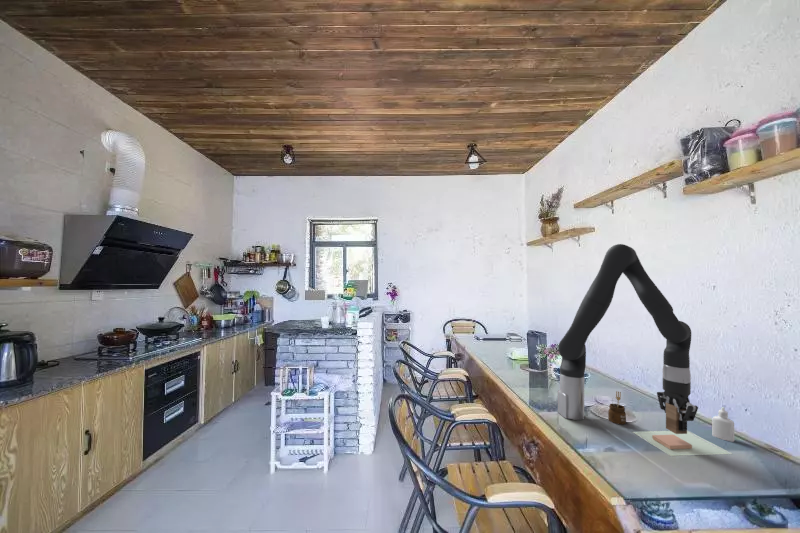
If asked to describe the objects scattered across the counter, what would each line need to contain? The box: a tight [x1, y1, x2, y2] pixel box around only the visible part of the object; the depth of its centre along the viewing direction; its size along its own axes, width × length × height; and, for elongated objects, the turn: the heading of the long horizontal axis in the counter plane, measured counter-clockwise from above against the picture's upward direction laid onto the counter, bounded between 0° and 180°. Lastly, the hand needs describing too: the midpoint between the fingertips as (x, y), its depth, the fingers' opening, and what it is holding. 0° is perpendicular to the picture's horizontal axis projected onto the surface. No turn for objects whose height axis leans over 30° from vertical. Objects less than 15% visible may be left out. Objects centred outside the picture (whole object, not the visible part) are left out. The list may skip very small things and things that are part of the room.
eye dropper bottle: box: [711, 406, 735, 443], centre depth 119 cm, size 4×6×12 cm
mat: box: [632, 430, 733, 457], centre depth 116 cm, size 22×16×1 cm
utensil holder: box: [607, 390, 627, 425], centre depth 132 cm, size 6×6×12 cm
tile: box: [652, 435, 692, 449], centre depth 114 cm, size 1×7×8 cm
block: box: [665, 403, 688, 434], centre depth 115 cm, size 4×4×9 cm
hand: (676, 427), depth 115 cm, fingers closed on block, 4 cm apart
